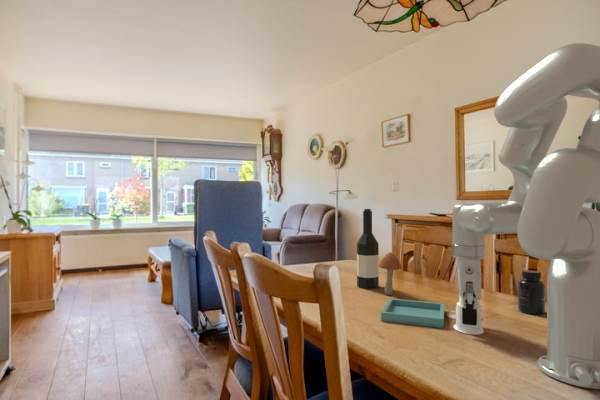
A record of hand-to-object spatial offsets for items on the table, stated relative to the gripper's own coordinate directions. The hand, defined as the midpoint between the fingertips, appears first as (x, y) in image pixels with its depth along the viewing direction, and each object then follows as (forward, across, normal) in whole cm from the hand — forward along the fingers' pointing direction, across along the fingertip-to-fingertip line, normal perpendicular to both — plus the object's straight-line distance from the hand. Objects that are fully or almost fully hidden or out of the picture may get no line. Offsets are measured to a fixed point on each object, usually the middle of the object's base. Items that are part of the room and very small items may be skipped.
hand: (468, 318), depth 95 cm
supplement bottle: (+3, +24, -18) cm, 30 cm away
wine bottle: (+3, +39, +34) cm, 52 cm away
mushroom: (+3, +29, +24) cm, 38 cm away
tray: (+3, +7, +14) cm, 16 cm away
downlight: (+3, 0, 0) cm, 3 cm away
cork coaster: (+3, +11, +1) cm, 11 cm away
